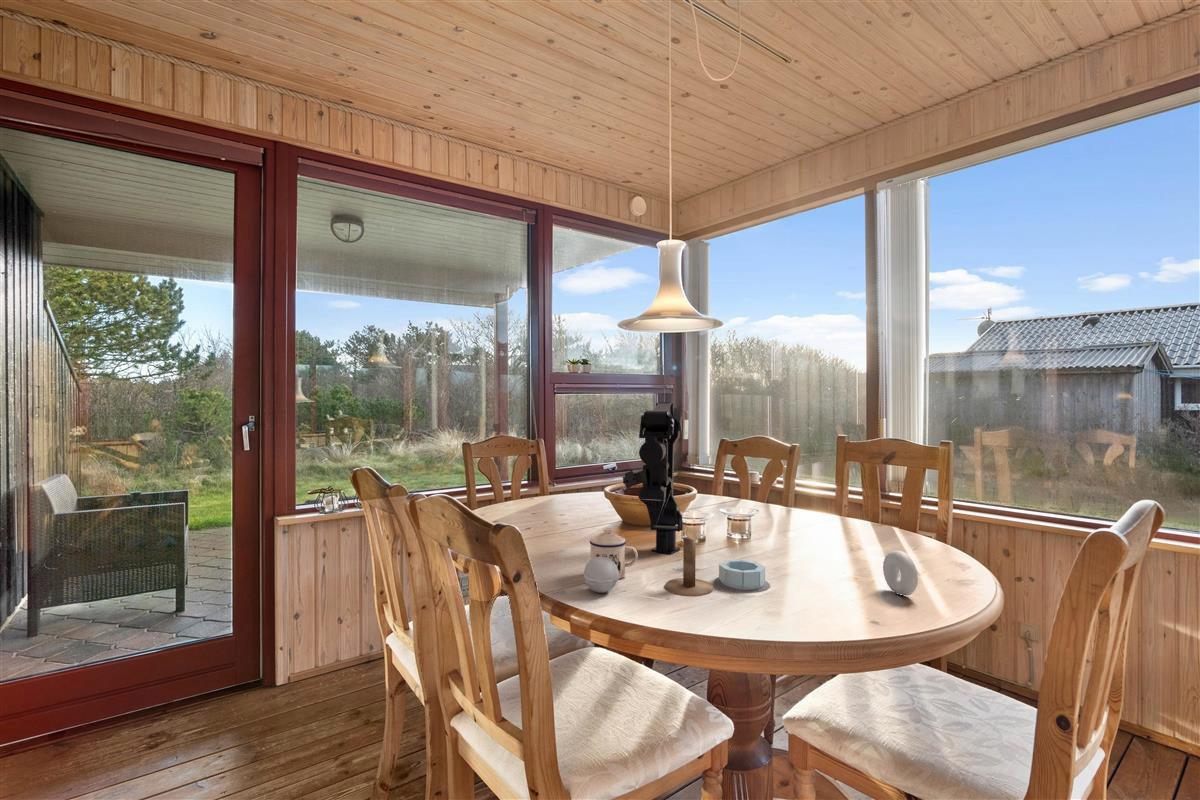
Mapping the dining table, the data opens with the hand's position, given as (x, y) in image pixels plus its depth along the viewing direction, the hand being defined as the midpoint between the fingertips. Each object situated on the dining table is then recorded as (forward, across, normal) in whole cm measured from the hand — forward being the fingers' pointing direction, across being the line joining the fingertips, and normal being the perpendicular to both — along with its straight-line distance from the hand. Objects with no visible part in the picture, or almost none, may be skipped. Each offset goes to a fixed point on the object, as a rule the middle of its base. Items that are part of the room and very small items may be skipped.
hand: (656, 521), depth 143 cm
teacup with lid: (+13, +5, -10) cm, 17 cm away
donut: (+13, +2, +56) cm, 58 cm away
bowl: (+13, +4, +21) cm, 25 cm away
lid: (+13, +10, +9) cm, 19 cm away
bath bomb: (+13, +17, -10) cm, 24 cm away
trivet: (+13, +4, +21) cm, 25 cm away
